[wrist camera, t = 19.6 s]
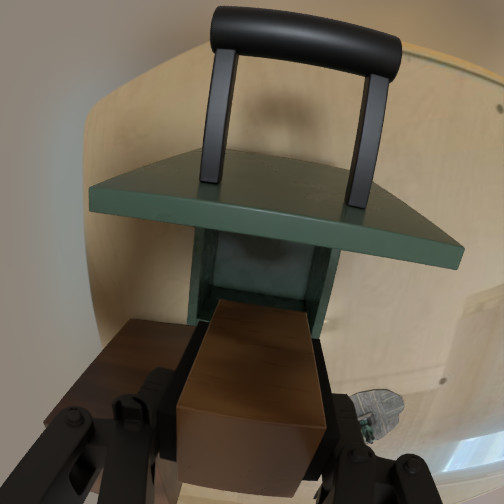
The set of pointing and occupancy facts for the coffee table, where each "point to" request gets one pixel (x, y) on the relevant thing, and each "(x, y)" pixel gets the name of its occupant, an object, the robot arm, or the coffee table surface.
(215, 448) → the block
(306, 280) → the green box
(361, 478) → the robot arm
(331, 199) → the box lid
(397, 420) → the sculpture
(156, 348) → the plinth
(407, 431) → the coffee table surface
